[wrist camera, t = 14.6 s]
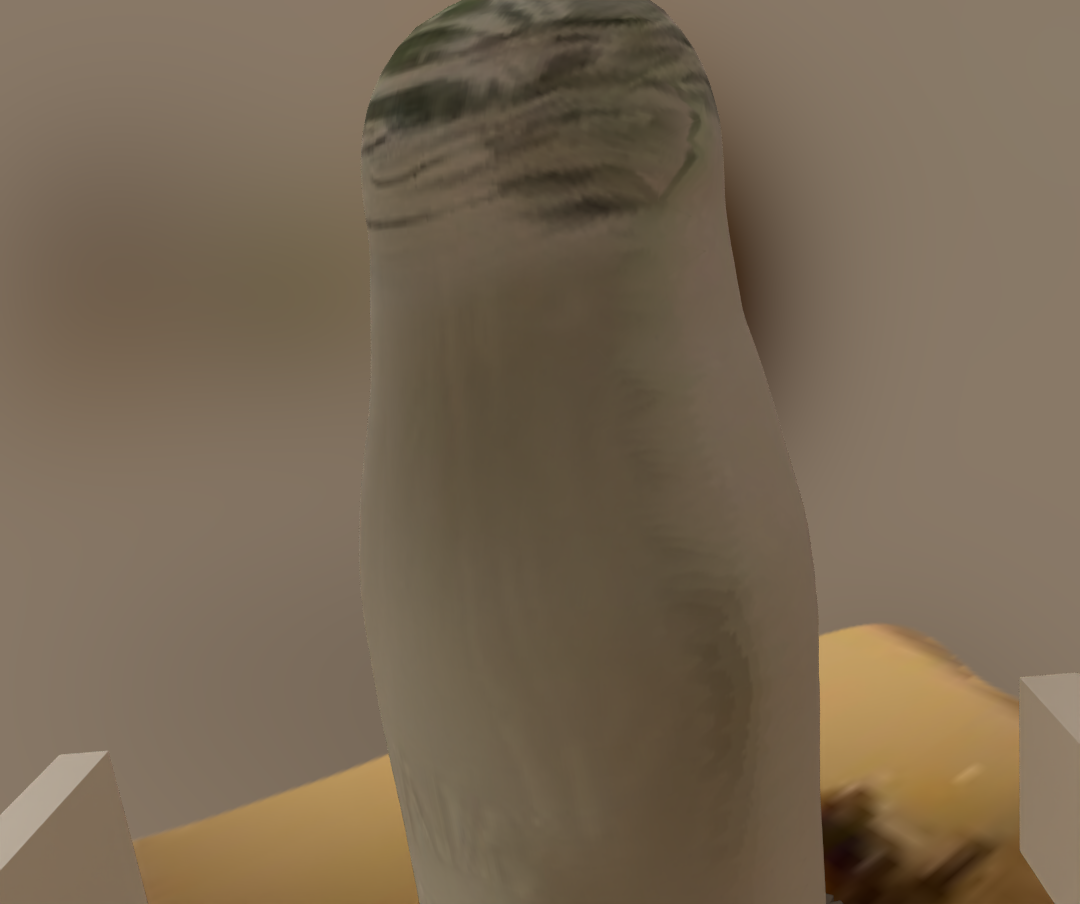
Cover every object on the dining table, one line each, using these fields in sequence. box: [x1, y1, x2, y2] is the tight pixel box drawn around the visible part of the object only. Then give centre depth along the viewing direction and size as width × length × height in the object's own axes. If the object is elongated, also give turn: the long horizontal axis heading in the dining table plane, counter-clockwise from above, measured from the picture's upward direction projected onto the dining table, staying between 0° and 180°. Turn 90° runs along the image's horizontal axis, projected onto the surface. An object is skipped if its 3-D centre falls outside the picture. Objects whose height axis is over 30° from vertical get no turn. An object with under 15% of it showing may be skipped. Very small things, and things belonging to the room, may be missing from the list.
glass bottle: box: [359, 0, 826, 904], centre depth 23 cm, size 10×10×28 cm
